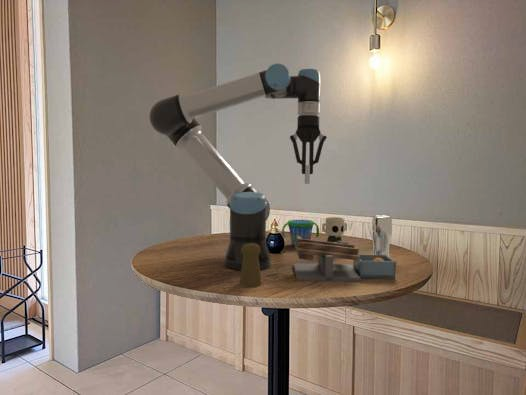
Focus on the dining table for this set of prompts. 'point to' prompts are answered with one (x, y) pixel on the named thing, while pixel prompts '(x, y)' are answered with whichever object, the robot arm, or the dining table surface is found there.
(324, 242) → the tilt lever
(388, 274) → the cup
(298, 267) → the lever base
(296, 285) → the dining table surface
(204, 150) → the robot arm
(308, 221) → the snack cup
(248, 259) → the brown upright piece
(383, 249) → the beer glass
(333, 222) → the character mug
